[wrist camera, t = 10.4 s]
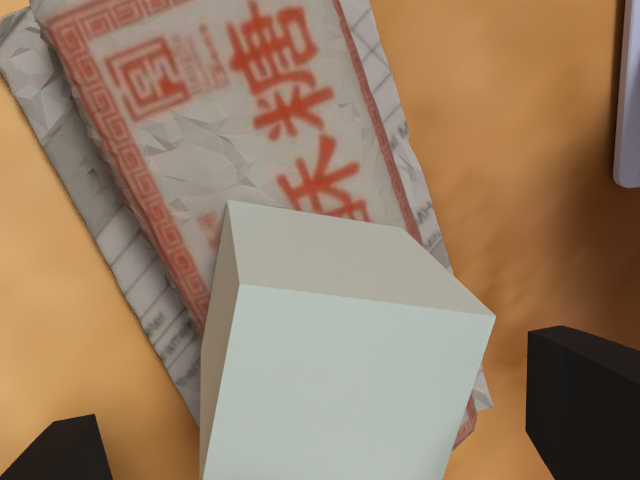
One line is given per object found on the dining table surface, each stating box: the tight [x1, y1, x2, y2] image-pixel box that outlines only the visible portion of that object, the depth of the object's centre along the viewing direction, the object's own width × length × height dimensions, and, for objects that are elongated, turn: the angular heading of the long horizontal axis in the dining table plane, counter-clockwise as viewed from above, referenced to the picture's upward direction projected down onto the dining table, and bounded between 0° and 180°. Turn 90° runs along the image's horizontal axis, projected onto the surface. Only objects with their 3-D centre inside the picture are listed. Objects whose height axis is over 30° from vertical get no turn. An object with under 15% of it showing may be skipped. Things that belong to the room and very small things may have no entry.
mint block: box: [199, 199, 496, 480], centre depth 12 cm, size 4×4×5 cm
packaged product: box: [0, 0, 494, 452], centre depth 17 cm, size 18×5×10 cm
